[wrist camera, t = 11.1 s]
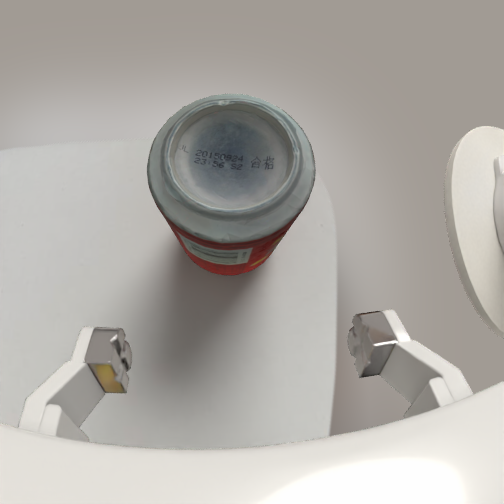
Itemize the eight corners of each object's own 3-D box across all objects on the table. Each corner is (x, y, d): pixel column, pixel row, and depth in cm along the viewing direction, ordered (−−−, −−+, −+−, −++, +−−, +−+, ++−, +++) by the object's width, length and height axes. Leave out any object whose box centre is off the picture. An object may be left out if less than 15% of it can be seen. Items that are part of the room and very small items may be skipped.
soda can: (277, 278, 23) (328, 239, 11) (180, 278, 23) (131, 238, 11) (275, 188, 25) (312, 86, 13) (184, 187, 24) (153, 83, 12)
